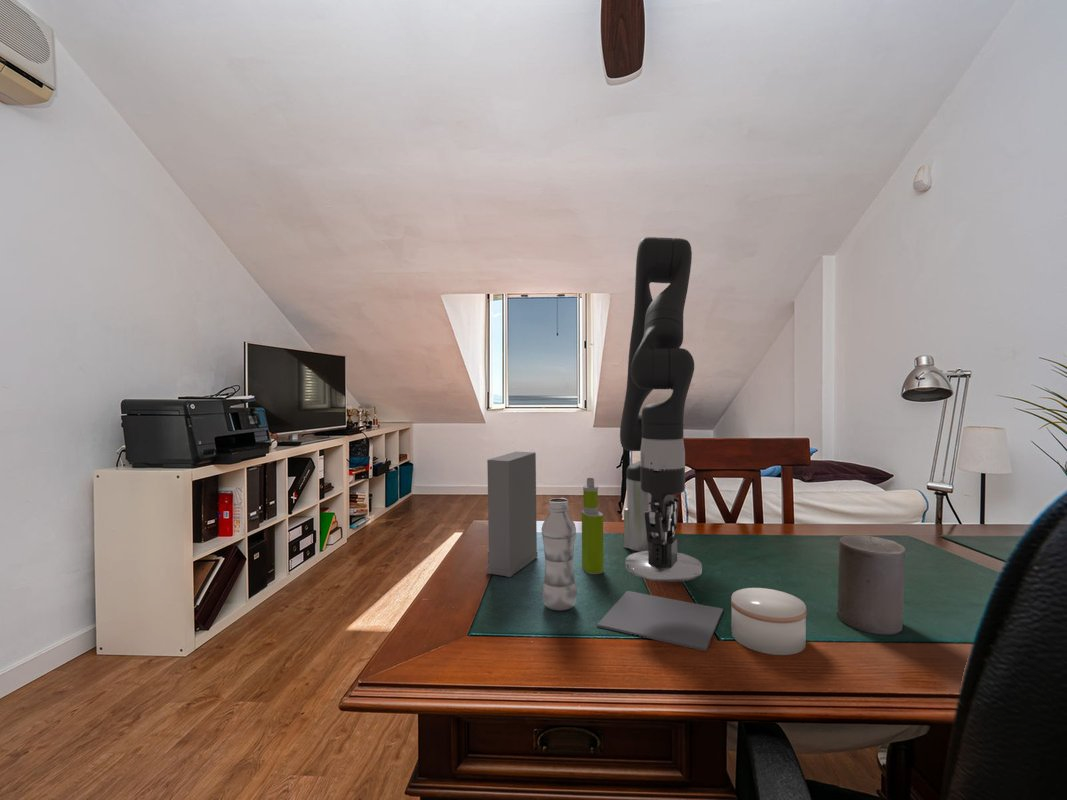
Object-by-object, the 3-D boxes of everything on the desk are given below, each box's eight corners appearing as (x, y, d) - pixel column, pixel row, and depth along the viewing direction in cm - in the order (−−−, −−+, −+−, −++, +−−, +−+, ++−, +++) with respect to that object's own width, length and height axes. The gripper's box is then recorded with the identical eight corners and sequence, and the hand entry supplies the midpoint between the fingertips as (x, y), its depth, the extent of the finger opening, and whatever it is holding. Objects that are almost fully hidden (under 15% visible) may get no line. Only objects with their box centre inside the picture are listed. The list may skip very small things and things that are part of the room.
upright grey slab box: (514, 554, 129) (513, 451, 128) (537, 557, 127) (536, 452, 126) (485, 574, 117) (483, 459, 116) (510, 578, 114) (508, 461, 113)
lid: (614, 574, 91) (614, 544, 91) (637, 552, 103) (637, 526, 103) (693, 587, 85) (693, 556, 85) (708, 562, 97) (708, 534, 96)
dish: (725, 645, 85) (725, 607, 85) (735, 616, 95) (736, 583, 95) (805, 662, 80) (805, 622, 79) (807, 630, 89) (807, 595, 89)
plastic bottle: (581, 602, 102) (580, 497, 101) (571, 617, 95) (570, 505, 94) (548, 597, 104) (547, 495, 103) (537, 612, 97) (536, 503, 96)
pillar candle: (824, 615, 95) (826, 532, 94) (860, 605, 99) (863, 524, 98) (879, 640, 86) (881, 548, 85) (916, 628, 90) (919, 540, 89)
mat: (597, 626, 92) (597, 624, 92) (627, 592, 106) (627, 590, 106) (705, 651, 83) (705, 648, 83) (723, 610, 97) (723, 608, 97)
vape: (595, 563, 122) (595, 476, 121) (605, 573, 116) (605, 481, 116) (580, 565, 121) (579, 477, 120) (589, 574, 116) (588, 482, 115)
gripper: (652, 457, 101) (652, 547, 102) (628, 468, 89) (629, 571, 89) (693, 459, 98) (693, 552, 98) (674, 471, 85) (674, 578, 86)
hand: (662, 561), depth 94 cm, fingers closed on lid, 4 cm apart
